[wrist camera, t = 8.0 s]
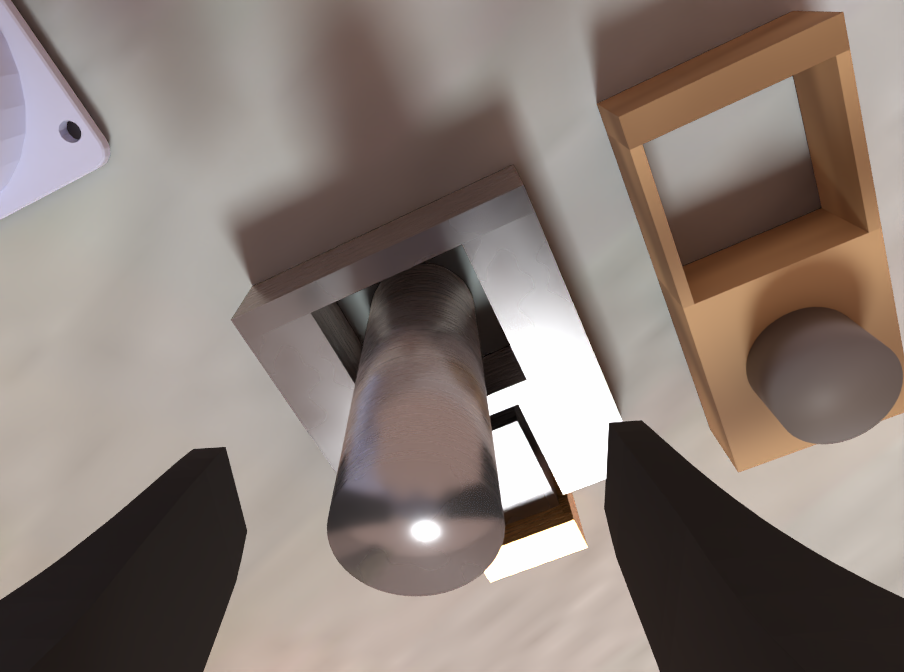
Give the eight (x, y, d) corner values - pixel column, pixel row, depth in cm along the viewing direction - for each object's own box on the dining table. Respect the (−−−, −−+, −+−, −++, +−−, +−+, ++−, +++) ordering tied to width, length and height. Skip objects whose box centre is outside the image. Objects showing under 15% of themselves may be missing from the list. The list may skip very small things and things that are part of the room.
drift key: (425, 422, 21) (424, 474, 19) (519, 384, 20) (530, 433, 18) (484, 523, 23) (490, 581, 21) (571, 490, 22) (587, 547, 20)
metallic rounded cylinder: (352, 289, 19) (293, 500, 11) (448, 246, 18) (460, 433, 10) (400, 372, 20) (378, 616, 12) (490, 333, 20) (531, 561, 12)
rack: (596, 103, 17) (641, 130, 13) (793, 11, 16) (896, 13, 12) (710, 429, 21) (766, 514, 18) (867, 370, 21) (959, 447, 17)
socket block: (252, 286, 19) (230, 319, 17) (513, 164, 17) (523, 185, 16) (397, 509, 23) (393, 557, 21) (621, 422, 21) (641, 465, 19)
